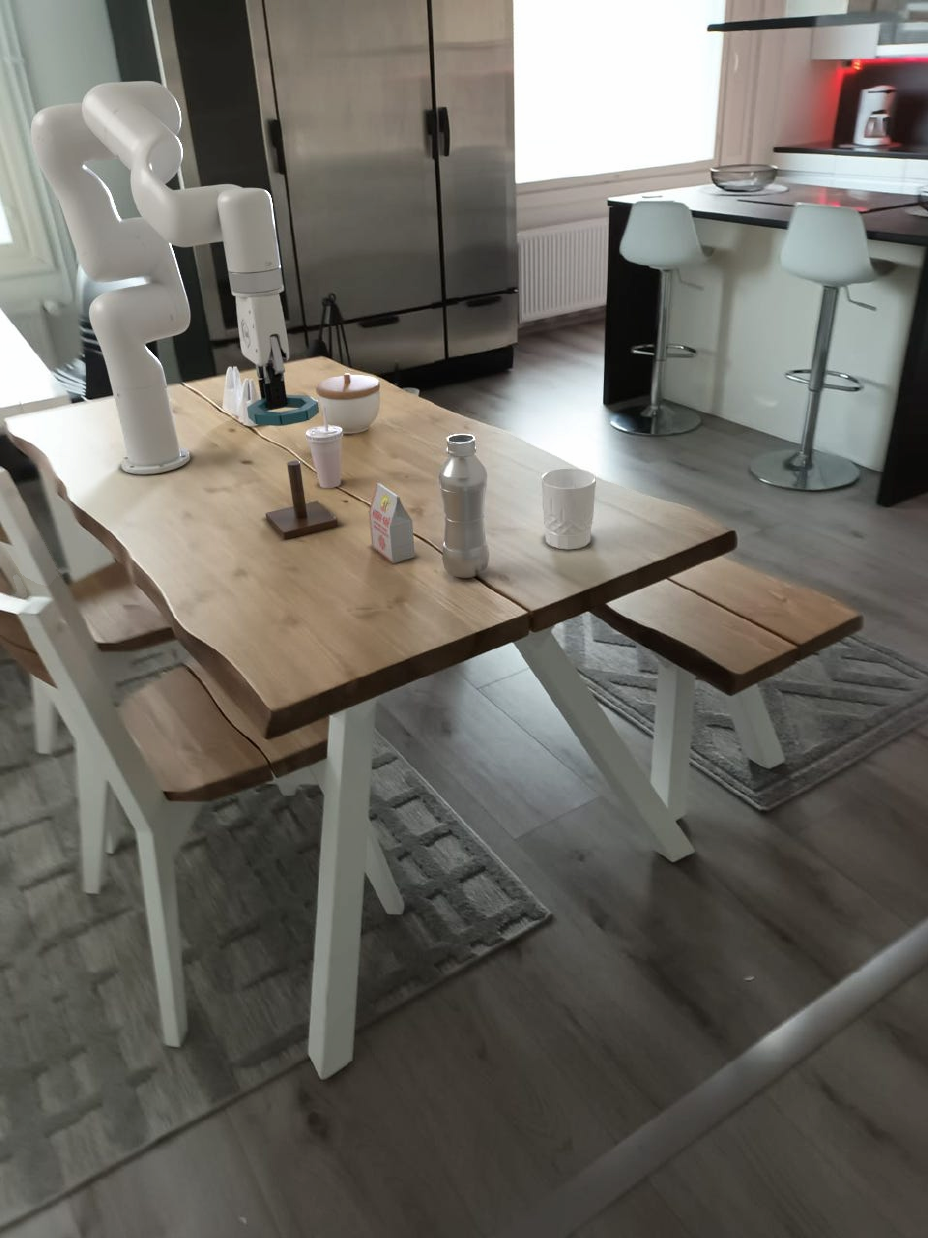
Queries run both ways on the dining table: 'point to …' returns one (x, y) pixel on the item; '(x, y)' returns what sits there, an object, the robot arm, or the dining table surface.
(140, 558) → the dining table surface
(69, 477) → the dining table surface
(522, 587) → the dining table surface
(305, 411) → the ring
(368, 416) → the lidded bowl
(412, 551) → the white milk carton
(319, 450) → the smoothie
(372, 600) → the dining table surface
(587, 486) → the white cup
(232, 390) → the white twin peak shape
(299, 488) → the brown peg stand
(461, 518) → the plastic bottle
